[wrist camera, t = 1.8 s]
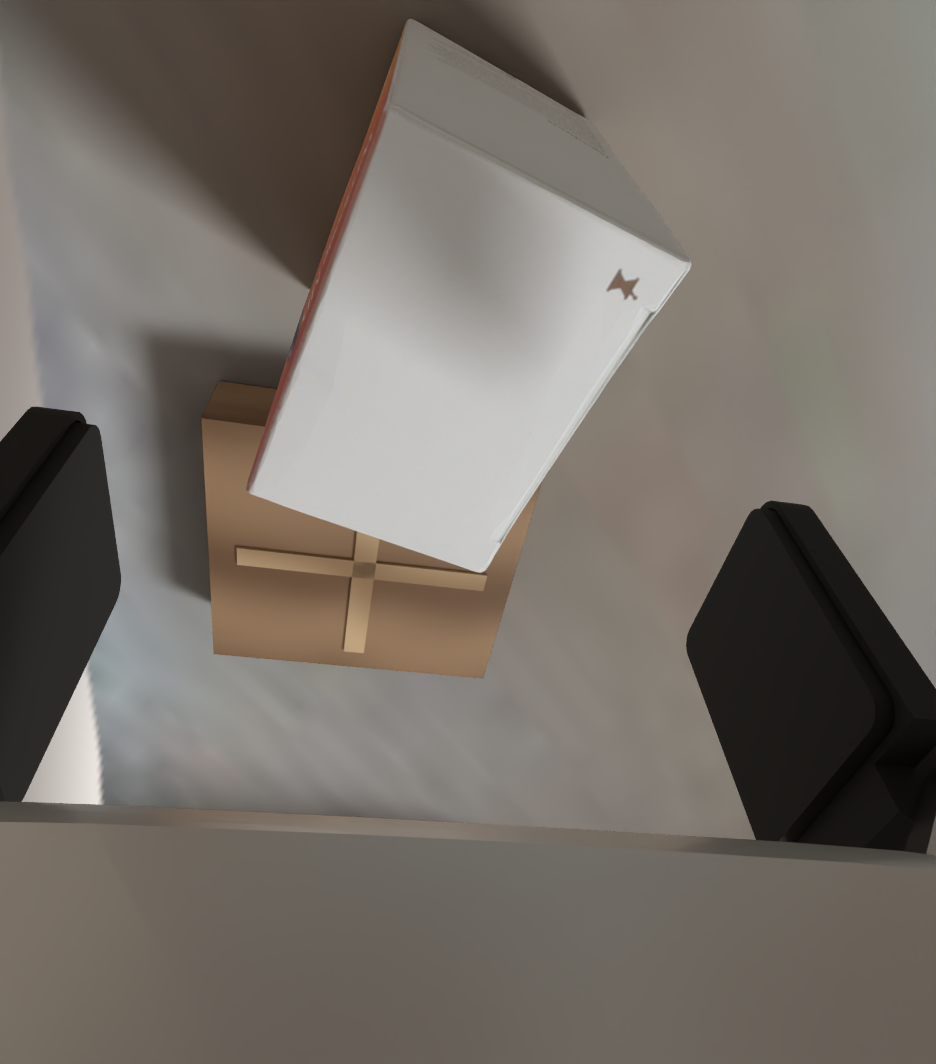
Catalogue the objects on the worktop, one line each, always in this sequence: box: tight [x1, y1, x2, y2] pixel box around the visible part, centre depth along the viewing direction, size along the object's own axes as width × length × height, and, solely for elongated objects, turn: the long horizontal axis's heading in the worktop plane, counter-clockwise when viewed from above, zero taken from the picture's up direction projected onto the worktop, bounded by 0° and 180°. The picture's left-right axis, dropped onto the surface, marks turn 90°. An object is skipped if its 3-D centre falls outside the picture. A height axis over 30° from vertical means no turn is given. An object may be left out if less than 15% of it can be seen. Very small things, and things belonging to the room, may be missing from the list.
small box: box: [246, 19, 691, 573], centre depth 17 cm, size 8×6×10 cm
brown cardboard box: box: [201, 381, 542, 678], centre depth 28 cm, size 11×11×2 cm
